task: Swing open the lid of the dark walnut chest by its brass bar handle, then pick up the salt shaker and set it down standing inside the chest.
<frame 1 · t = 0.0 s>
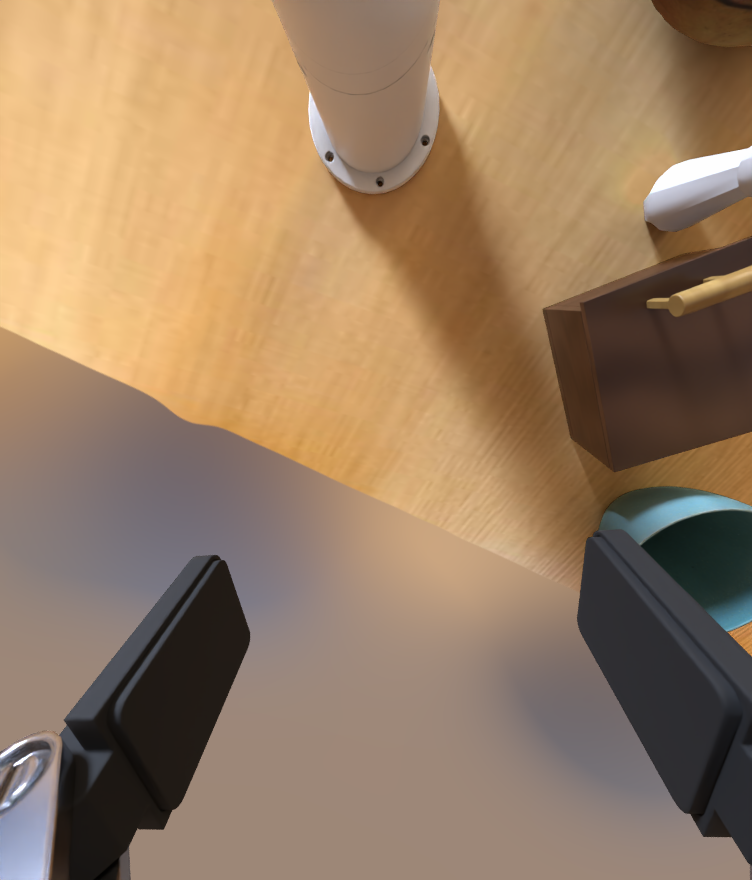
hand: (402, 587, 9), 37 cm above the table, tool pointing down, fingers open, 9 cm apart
chest lid: (701, 369, 31), point 12 cm above the table, hinge at 0.0°
salt shaker: (662, 203, 36), on the table
green bowl: (633, 515, 50), on the table
chest: (621, 354, 42), on the table
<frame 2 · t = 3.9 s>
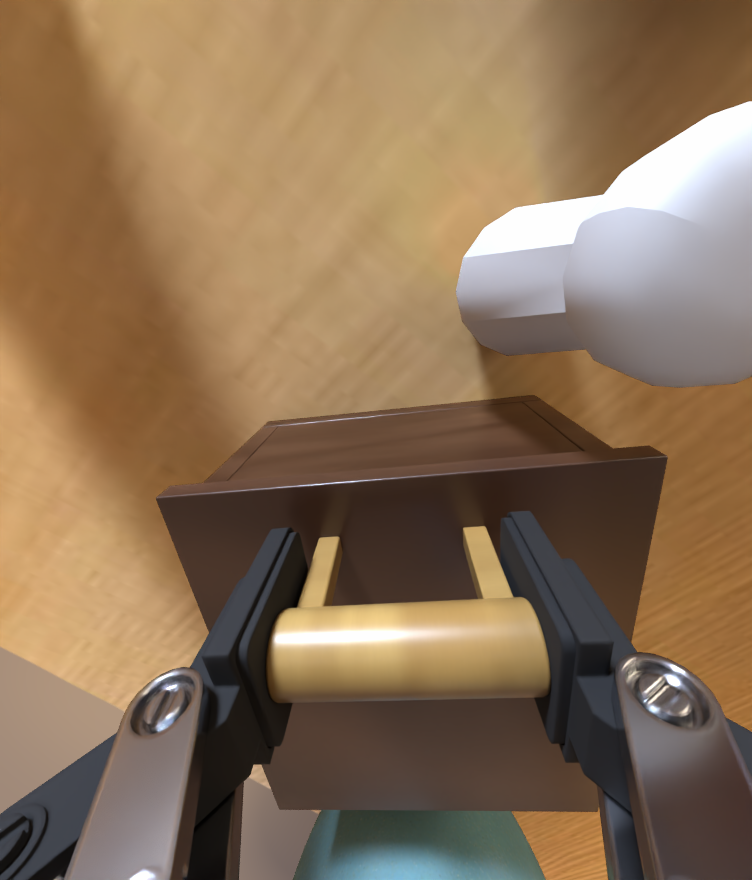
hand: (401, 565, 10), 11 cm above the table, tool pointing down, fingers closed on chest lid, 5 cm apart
chest lid: (420, 742, 12), point 12 cm above the table, hinge at 0.0°, touching gripper
salt shaker: (507, 288, 17), on the table
green bowl: (413, 750, 31), on the table
chest: (409, 534, 23), on the table
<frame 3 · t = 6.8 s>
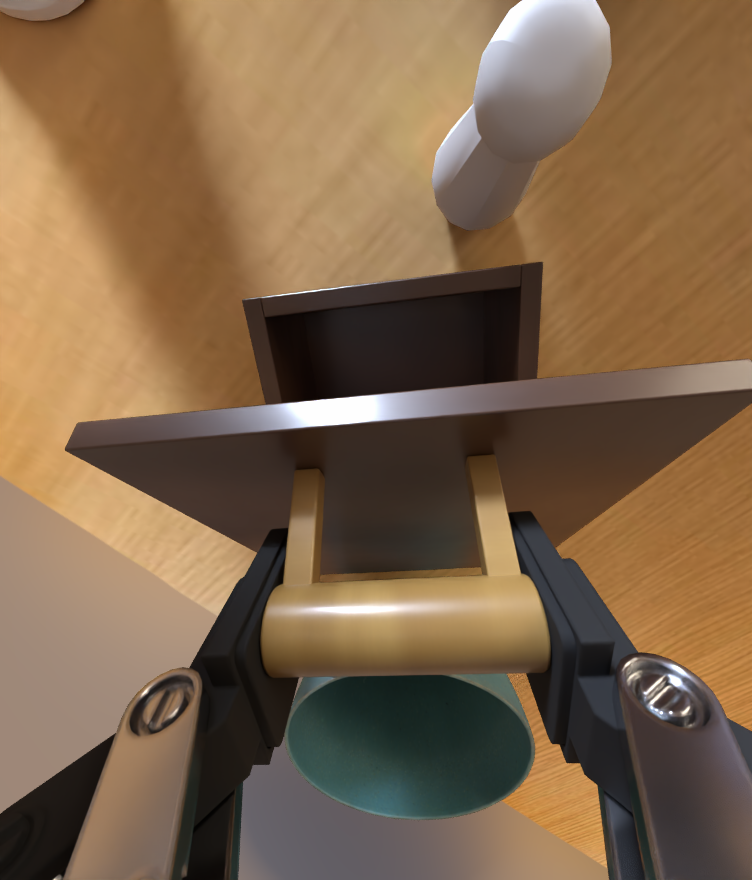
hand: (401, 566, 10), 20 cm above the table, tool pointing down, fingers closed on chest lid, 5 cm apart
chest lid: (408, 581, 14), point 17 cm above the table, hinge at 39.0°, touching gripper
salt shaker: (472, 188, 23), on the table
green bowl: (404, 615, 37), on the table
chest: (400, 401, 29), on the table
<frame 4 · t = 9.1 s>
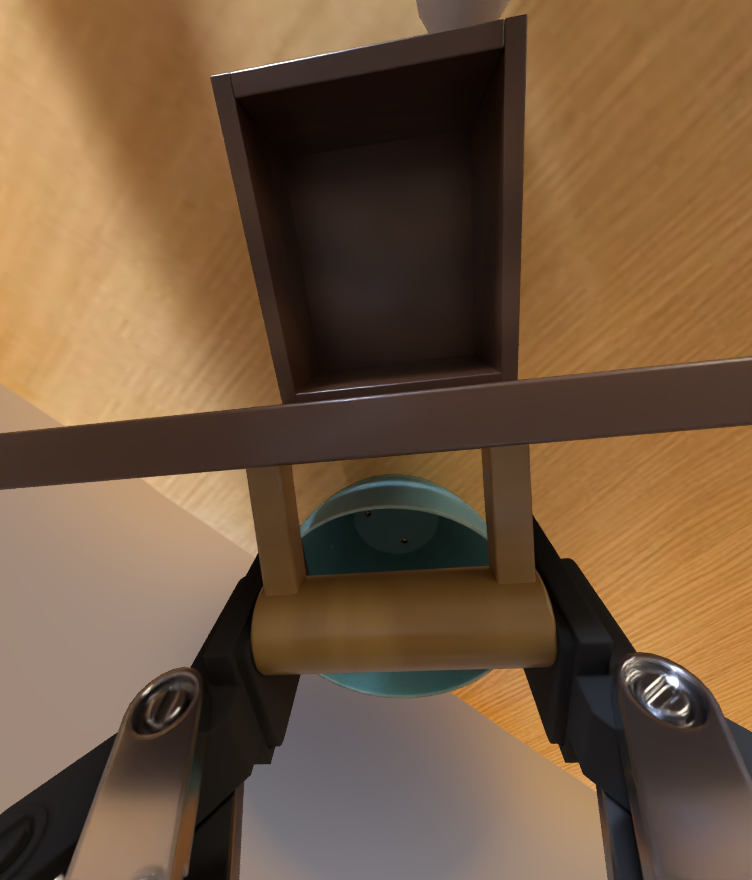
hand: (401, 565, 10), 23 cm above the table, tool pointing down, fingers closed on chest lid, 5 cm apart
chest lid: (397, 465, 14), point 19 cm above the table, hinge at 75.9°, touching gripper
salt shaker: (457, 9, 22), on the table
green bowl: (395, 516, 36), on the table
chest: (386, 265, 28), on the table
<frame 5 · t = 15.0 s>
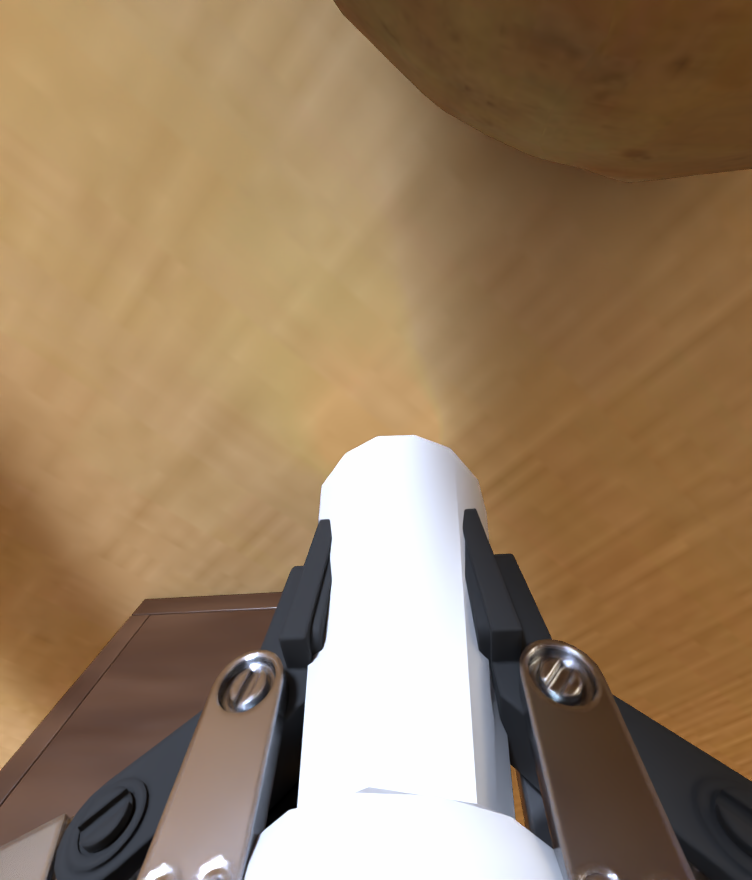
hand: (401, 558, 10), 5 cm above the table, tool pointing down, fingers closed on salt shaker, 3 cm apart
salt shaker: (399, 479, 15), on the table, touching gripper
chest: (318, 705, 20), on the table
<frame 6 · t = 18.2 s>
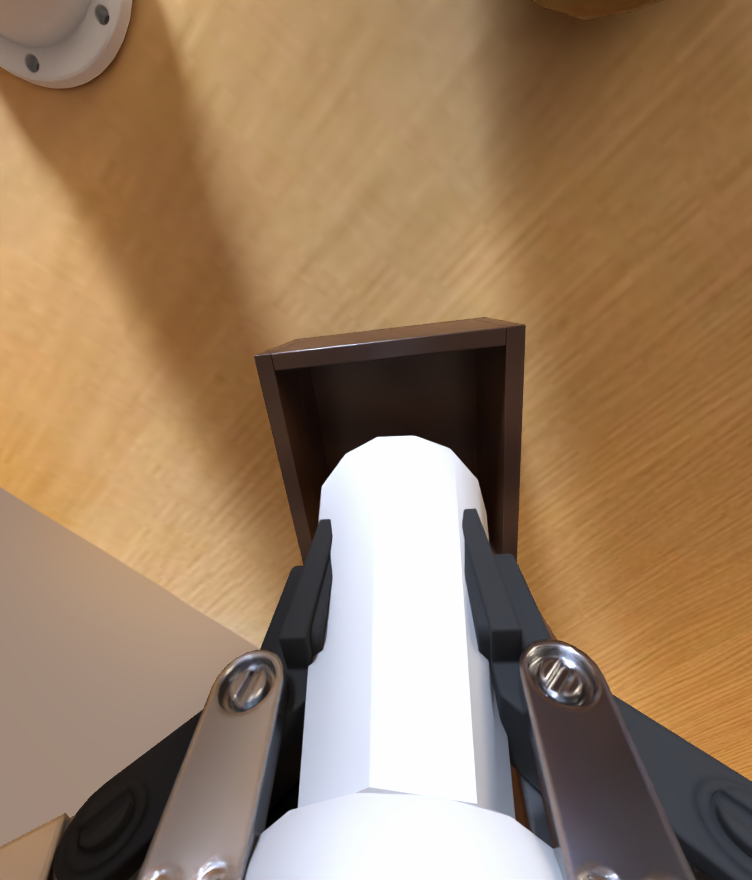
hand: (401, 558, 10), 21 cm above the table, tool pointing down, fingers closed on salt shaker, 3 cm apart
chest lid: (417, 737, 16), point 19 cm above the table, hinge at 76.2°
salt shaker: (399, 479, 15), point 16 cm above the table, touching gripper
chest: (398, 429, 31), on the table
when the fingers open (6 cm above the table, at t = 21.7 s): salt shaker stays where it is, resting on chest.
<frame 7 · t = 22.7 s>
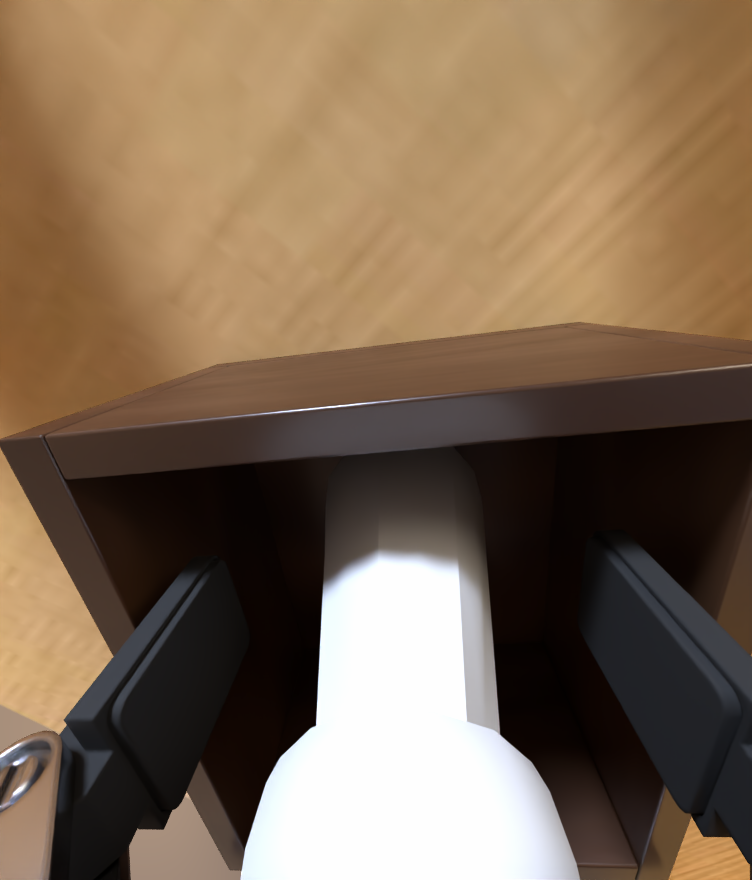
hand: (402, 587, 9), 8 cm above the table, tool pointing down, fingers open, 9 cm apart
salt shaker: (401, 472, 16), point 1 cm above the table, touching chest
chest: (407, 519, 17), on the table
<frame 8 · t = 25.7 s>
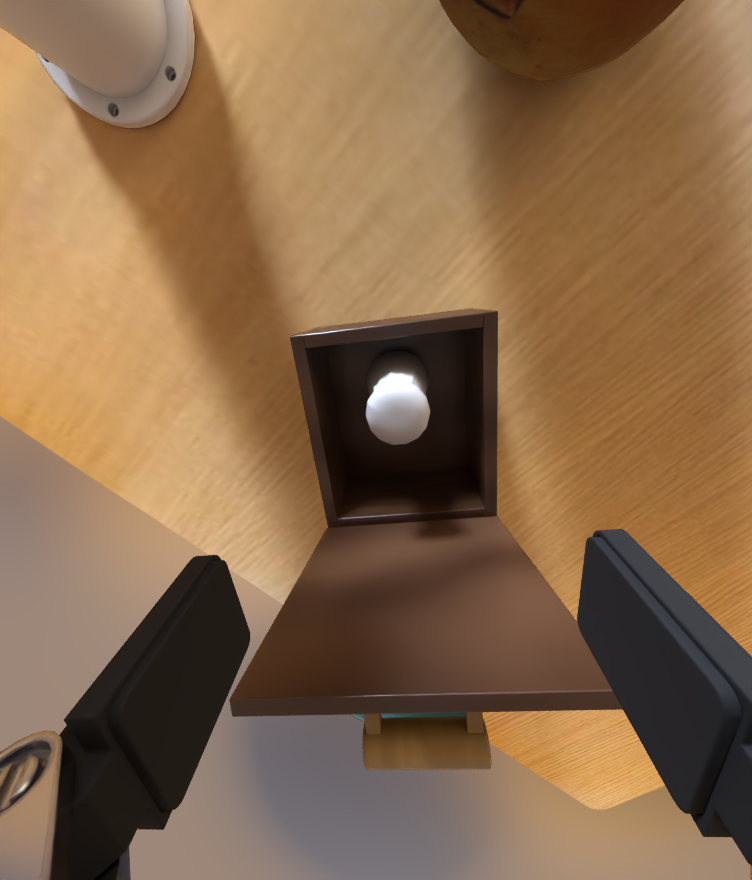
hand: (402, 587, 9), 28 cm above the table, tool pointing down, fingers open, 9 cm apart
chest lid: (416, 613, 22), point 19 cm above the table, hinge at 76.2°
salt shaker: (397, 377, 35), point 1 cm above the table, touching chest
green bowl: (405, 579, 45), on the table
chest: (400, 404, 37), on the table
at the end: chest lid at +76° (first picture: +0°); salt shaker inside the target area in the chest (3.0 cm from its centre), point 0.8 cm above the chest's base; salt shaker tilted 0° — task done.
